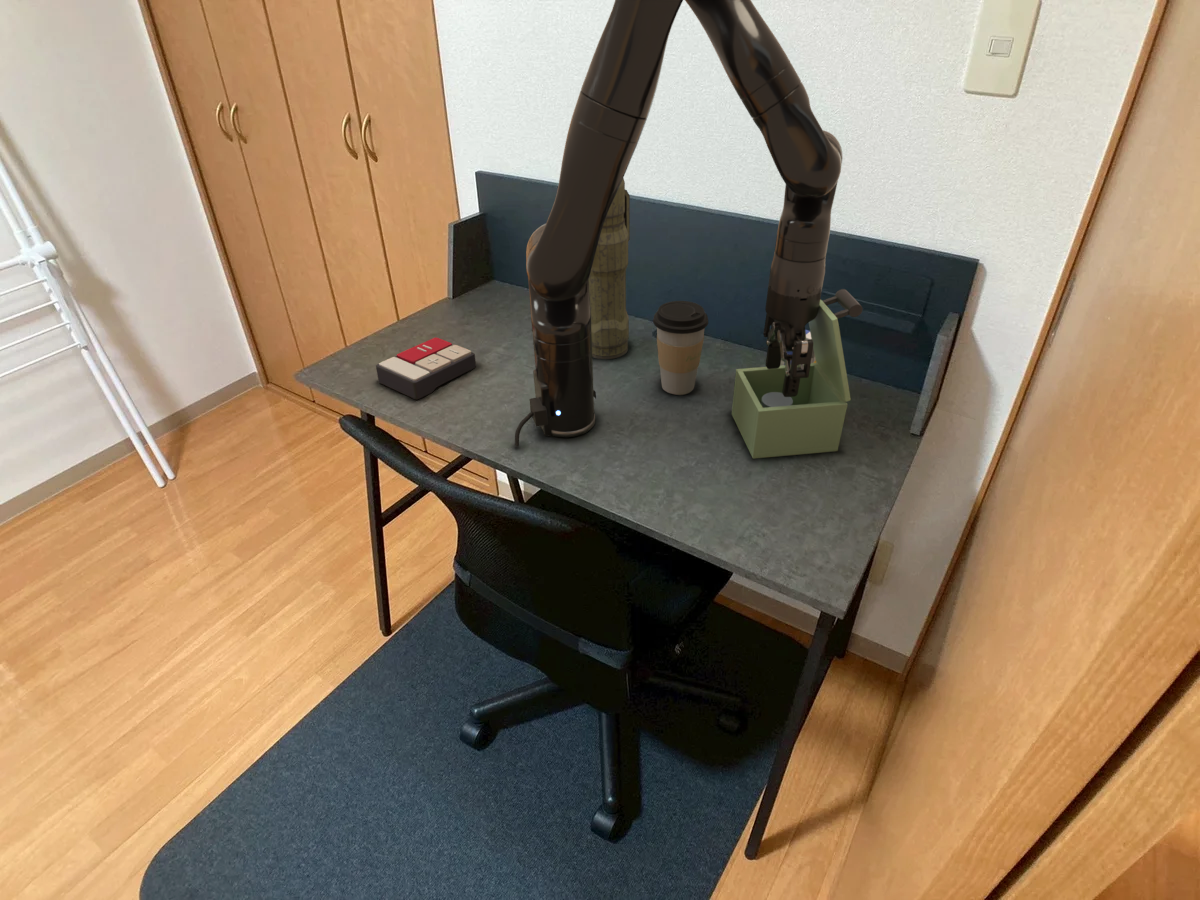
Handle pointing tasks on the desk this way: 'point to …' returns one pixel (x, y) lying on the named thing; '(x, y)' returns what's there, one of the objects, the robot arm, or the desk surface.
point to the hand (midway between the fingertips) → (780, 381)
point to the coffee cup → (679, 344)
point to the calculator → (425, 367)
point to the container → (775, 400)
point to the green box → (788, 413)
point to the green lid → (833, 339)
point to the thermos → (611, 281)
